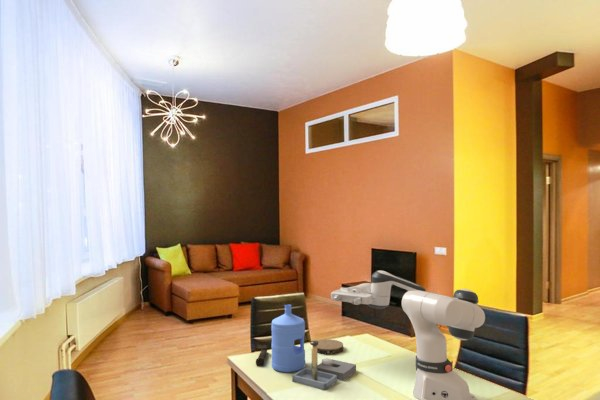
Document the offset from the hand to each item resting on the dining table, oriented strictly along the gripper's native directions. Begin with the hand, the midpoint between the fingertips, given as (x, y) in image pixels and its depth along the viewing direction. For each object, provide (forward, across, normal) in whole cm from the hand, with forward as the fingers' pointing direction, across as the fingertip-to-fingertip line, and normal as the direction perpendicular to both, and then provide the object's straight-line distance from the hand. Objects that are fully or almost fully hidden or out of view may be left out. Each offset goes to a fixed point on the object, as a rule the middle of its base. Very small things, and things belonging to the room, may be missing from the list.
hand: (344, 300), depth 186 cm
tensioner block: (+9, 0, -30) cm, 31 cm away
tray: (+22, +3, -30) cm, 37 cm away
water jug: (+14, +22, -30) cm, 40 cm away
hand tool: (+13, +38, -30) cm, 51 cm away
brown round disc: (-16, +18, -31) cm, 39 cm away
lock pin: (+22, +3, -29) cm, 37 cm away
